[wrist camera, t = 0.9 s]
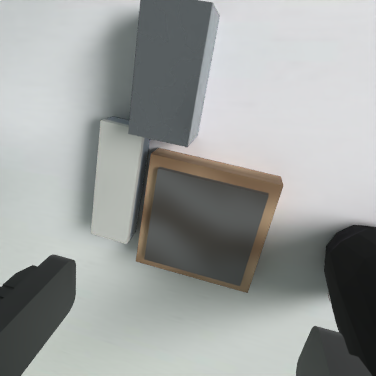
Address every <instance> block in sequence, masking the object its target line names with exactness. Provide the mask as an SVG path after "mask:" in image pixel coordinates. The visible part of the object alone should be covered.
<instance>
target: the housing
mask: <svg viewBox="0 0 376 376" xmlns="http://www.w3.org/2000/svg"><path fill="white" fill-rule="evenodd" d="M219 17H220V15H219V13H218V11H217V10H216V8H215V6H214V4H213V3H211V2H205V1H199V0H141V1H140V12H139V23H138V33H137V44H136V55H135V66H134V76H133V87H132V98H131V109H130V120H129V130H128V134H131V135H135V136H140V137H144V138H149V139H153V140H158V141H162V142H167V143H171V144H176V145H181V146H185V147H188V146H189V145H190V144H191V142H192V141H193V140H194V139H195V138H196V137H197V136H198V131H199V126H200V120H201V115H202V109H203V104H204V98H205V93H206V88H207V82H208V77H209V71H210V66H211V61H212V55H213V50H214V44H215V39H216V33H217V28H218V23H219Z"/></svg>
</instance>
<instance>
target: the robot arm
mask: <svg viewBox="0 0 376 376" xmlns="http://www.w3.org/2000/svg"><path fill="white" fill-rule="evenodd" d="M75 295H76V263H75V261H74V260H72V259H68V258H65V257H61V256H57V255H51V256H49V257H48V258H47V259H46V260H45V261H43V262H42V263H41V264H40V265H39V266H38V267H37V266H33V265H32V266H30V267H28V268H26V269H24V270H22V271H20V272H18V273H16V274H15V275H13V276H12V277H11V278H10V279H9V280H8V281H6V282H5V283H4V284H3V286H2V287H0V376H21V375H22V373H23V372H24V371H25V369H26V368H27V367H28V365H29V364H30V363H31V361H32V360H33V359H34V358H35V356H36V355H37V354H38V352H39V351H40V350H41V348H42V347H43V346H44V344H45V343H46V342H47V340H48V339H49V338H50V336H51V335H52V334H53V332H54V331H55V330H56V329H57V327H58V326H59V325H60V323H61V322H62V321H63V319H64V318H65V317H66V315H67V314H68V313H69V311H70V309H71V308H72V305H73V303H74V300H75ZM296 376H372V375H371V373H370V372H369V371H368V369H367V368H366V367H365V365H364V364H363V362H362V361H361V360H360V358H359V357H357V356H354V355H350V354H349V352H348V349H347V346H346V343H345V340H344V337H343V335H342V334H341V333H339V332H335V331H332V330H328V329H324V328H321V327H317V326H314V327H313V328H312V329H311V332H310V334H309V336H308V338H307V341H306V343H305V345H304V347H303V350H302V352H301V354H300V357H299V359H298V363H297V369H296Z"/></svg>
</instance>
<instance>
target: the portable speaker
mask: <svg viewBox="0 0 376 376" xmlns="http://www.w3.org/2000/svg"><path fill="white" fill-rule="evenodd" d="M324 272H325V277H326V281H327V286H328V290H329V295H330V299H331V302H330V303H331V304H332V308H333V312H334V316H335V320H336V324H337V327H338V330H339V333H341V334H342V335H343V337H344V340H345V343H346V346H347V349H348V352H349V354H350V355H354V356H357V357H359V358H360V360H361V361H362V362H363V364H364V365H365V367H366V368H367V369H368V371H369V372H370V373H371V375H372V376H376V227H370V226H359V225H353V226H351V227H349V228H347V229H344V230H342V231H340V232H338V233H336V234H335V236H334V237H333V238H332V240H331V241H330V242H329V244H328V245H327V246H326V257H325V265H324ZM329 295H328V296H329ZM330 299H329V300H330Z"/></svg>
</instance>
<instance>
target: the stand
mask: <svg viewBox="0 0 376 376" xmlns="http://www.w3.org/2000/svg"><path fill="white" fill-rule="evenodd" d="M282 188H283V183H282V179H281V177H280V176H276V175H272V174H267V173H263V172H259V171H255V170H250V169H246V168H242V167H238V166H233V165H229V164H225V163H221V162H217V161H212V160H208V159H204V158H200V157H195V156H191V155H187V154H183V153H178V152H174V151H170V150H166V149H161V148H157V149H156V150H155V151H154V152H152V153H151V156H150V163H149V171H148V178H147V185H146V192H145V199H144V206H143V213H142V221H141V228H140V235H139V242H138V249H137V256H136V261H137V262H140V263H144V264H147V265H151V266H154V267H158V268H161V269H165V270H168V271H172V272H175V273H179V274H183V275H186V276H190V277H193V278H197V279H200V280H204V281H207V282H211V283H214V284H218V285H221V286H225V287H228V288H232V289H235V290H239V291H243V292H246V293H248V290H249V287H250V284H251V281H252V278H253V275H254V272H255V269H256V266H257V263H258V260H259V257H260V254H261V251H262V248H263V245H264V242H265V239H266V236H267V233H268V230H269V227H270V224H271V221H272V218H273V215H274V212H275V209H276V206H277V203H278V200H279V197H280V194H281V191H282Z"/></svg>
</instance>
